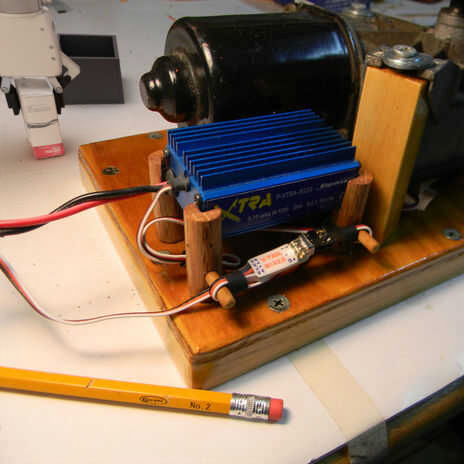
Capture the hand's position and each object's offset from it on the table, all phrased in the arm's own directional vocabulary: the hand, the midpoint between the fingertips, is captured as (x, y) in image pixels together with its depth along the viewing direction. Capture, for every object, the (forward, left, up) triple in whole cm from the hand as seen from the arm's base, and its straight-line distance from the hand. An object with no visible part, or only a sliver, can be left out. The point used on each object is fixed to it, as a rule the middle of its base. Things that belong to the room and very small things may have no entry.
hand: (38, 110), depth 82 cm
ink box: (0, 0, -7) cm, 7 cm away
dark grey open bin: (+8, +24, -7) cm, 26 cm away
